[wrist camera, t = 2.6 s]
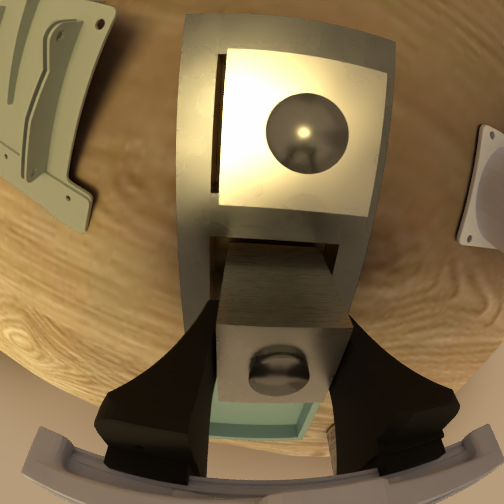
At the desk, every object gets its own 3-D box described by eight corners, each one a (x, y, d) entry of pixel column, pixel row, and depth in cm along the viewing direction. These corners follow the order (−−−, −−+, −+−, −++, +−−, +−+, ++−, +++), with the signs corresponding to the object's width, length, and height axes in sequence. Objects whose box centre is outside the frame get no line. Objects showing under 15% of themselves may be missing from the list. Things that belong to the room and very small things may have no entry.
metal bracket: (-33, -17, 2) (143, -3, 5) (30, -25, 6) (202, 12, 10) (-53, 167, 10) (68, 265, 14) (-6, 134, 15) (113, 210, 18)
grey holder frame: (377, 49, 10) (395, 41, 9) (325, 339, 18) (331, 360, 17) (194, 27, 10) (185, 14, 8) (192, 333, 18) (187, 355, 16)
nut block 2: (318, 247, 14) (356, 335, 8) (304, 317, 16) (324, 409, 10) (229, 242, 14) (214, 332, 8) (226, 313, 16) (217, 408, 10)
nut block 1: (332, 88, 12) (393, 72, 6) (322, 175, 14) (372, 221, 8) (237, 77, 11) (226, 45, 6) (231, 167, 13) (217, 209, 8)
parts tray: (326, 358, 19) (331, 378, 18) (300, 422, 24) (302, 439, 22) (187, 353, 19) (182, 374, 17) (197, 419, 24) (194, 436, 22)
